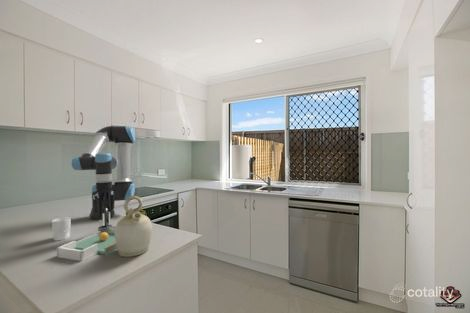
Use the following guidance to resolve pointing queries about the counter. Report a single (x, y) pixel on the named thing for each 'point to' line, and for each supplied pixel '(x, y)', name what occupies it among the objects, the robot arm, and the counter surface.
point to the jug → (133, 231)
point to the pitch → (103, 246)
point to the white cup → (61, 228)
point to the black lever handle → (106, 223)
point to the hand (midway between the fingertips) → (104, 224)
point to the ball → (103, 236)
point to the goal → (76, 251)
